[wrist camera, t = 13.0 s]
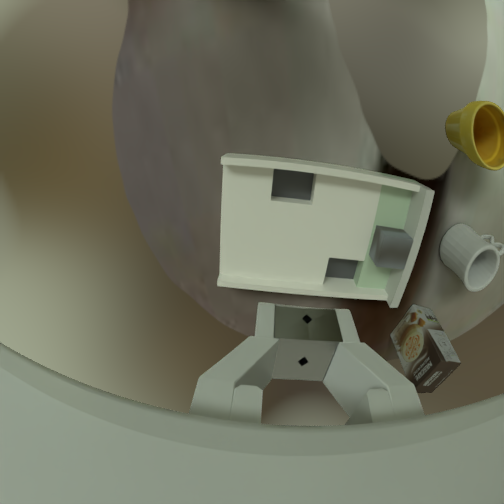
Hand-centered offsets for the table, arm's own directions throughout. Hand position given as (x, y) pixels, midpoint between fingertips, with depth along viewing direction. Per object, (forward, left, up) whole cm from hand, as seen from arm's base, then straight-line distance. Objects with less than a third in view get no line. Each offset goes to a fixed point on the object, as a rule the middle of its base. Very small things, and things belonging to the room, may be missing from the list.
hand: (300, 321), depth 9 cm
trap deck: (+9, +7, -34) cm, 36 cm away
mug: (+8, +37, -34) cm, 51 cm away
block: (+9, +18, -31) cm, 37 cm away
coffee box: (+28, +32, -34) cm, 55 cm away
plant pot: (-12, +30, -34) cm, 47 cm away
